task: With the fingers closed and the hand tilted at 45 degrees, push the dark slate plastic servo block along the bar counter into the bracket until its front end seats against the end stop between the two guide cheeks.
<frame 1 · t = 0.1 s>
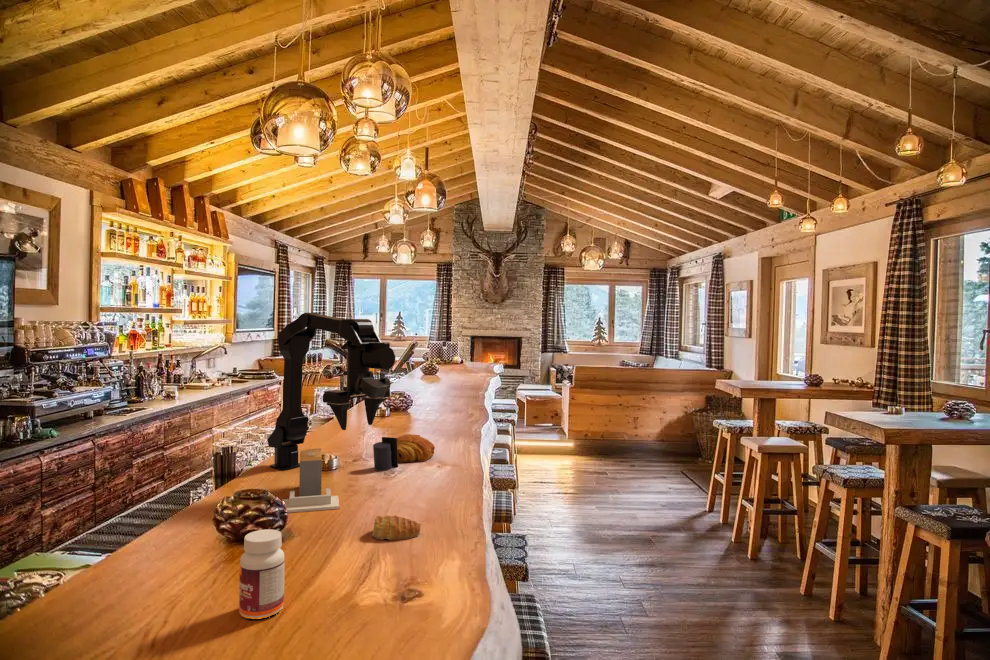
hand: (357, 427, 153), 15 cm above the table, fingers open, 9 cm apart
pastry: (393, 536, 119), on the table
pill bottle: (261, 612, 87), on the table
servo: (310, 492, 146), on the table
croissant: (411, 458, 183), on the table
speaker: (384, 469, 168), on the table
bracket: (310, 500, 139), on the table
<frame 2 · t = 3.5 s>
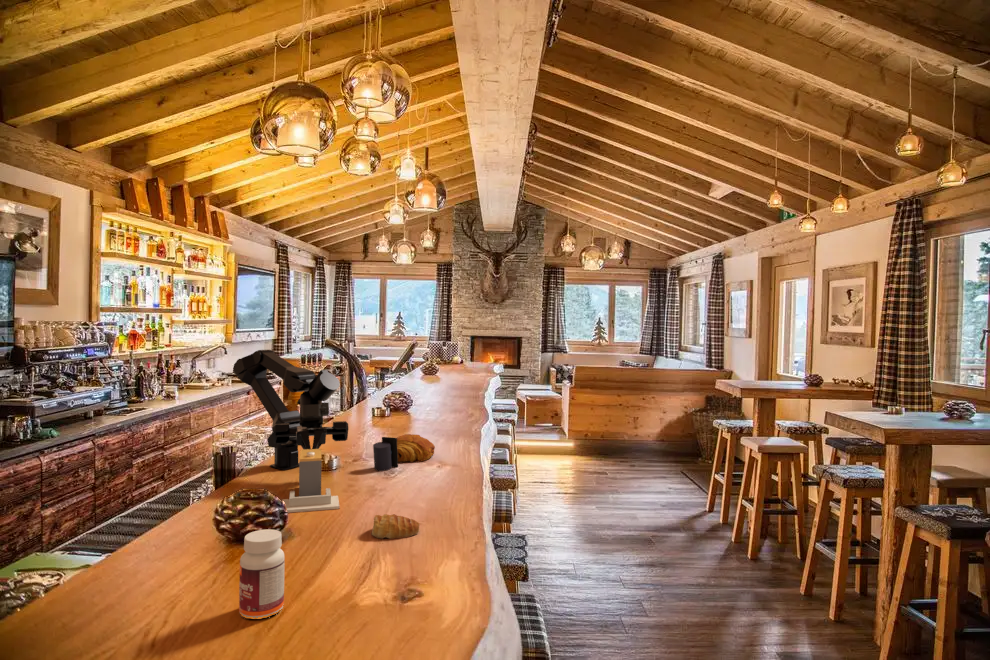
hand: (311, 460, 150), 7 cm above the table, fingers closed, pressing on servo
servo: (310, 492, 145), on the table, touching gripper
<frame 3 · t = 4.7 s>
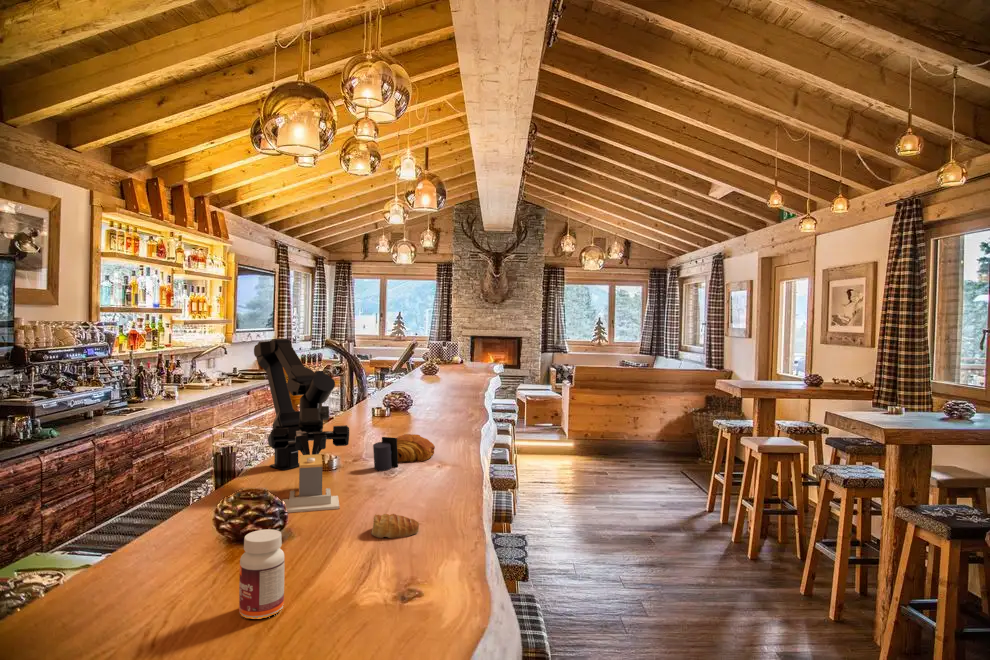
hand: (310, 466, 144), 7 cm above the table, fingers closed, pressing on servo
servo: (310, 499, 139), on the table, touching gripper
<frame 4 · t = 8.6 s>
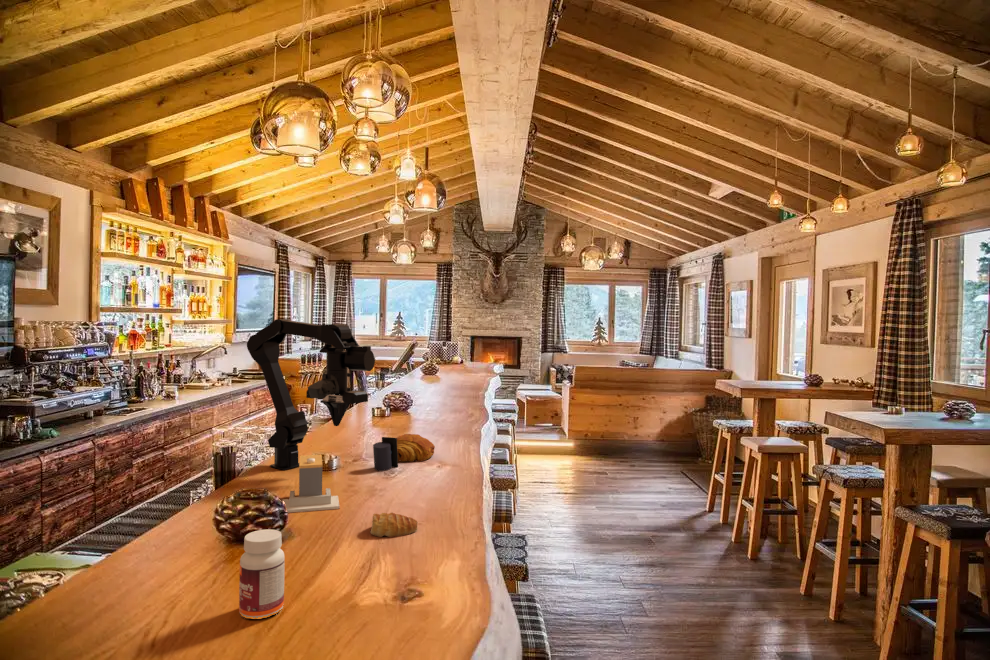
hand: (336, 425, 163), 13 cm above the table, fingers closed
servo: (310, 500, 139), on the table
at the end: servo 0.6 cm off-centre on the bracket, point 0.0 cm above the bracket's base; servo tilted 0°; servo moved 6.8 cm from its start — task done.
